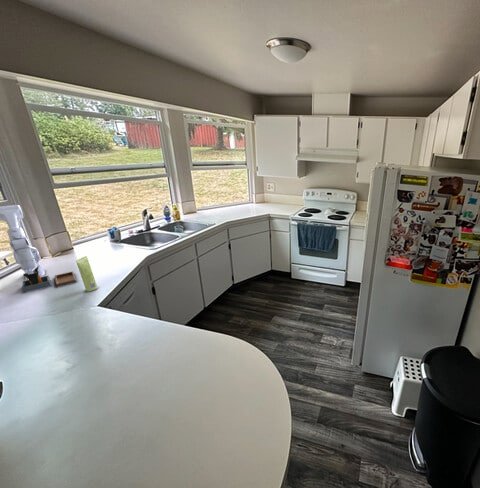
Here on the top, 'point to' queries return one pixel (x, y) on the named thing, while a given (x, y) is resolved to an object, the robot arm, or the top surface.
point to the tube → (86, 274)
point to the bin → (28, 287)
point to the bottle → (38, 279)
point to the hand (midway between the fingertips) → (35, 281)
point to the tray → (65, 279)
